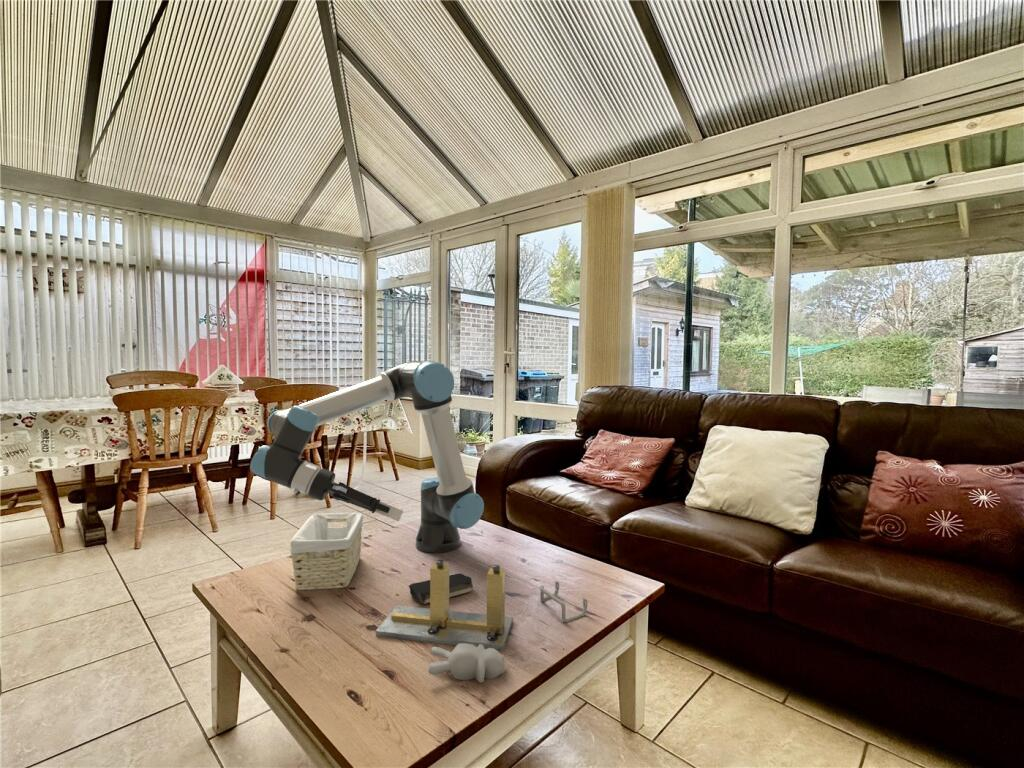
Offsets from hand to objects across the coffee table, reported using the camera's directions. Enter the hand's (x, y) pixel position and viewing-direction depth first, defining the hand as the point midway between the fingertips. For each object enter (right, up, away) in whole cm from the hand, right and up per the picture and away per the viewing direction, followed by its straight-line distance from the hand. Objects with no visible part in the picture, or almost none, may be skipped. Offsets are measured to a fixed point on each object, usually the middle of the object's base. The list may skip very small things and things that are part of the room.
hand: (401, 516), depth 127 cm
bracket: (+42, -24, 0) cm, 48 cm away
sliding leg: (+11, -22, -11) cm, 28 cm away
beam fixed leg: (+13, -23, -12) cm, 29 cm away
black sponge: (+10, -24, +7) cm, 26 cm away
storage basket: (-25, -22, +19) cm, 39 cm away
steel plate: (+13, -24, -11) cm, 29 cm away
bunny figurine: (+20, -25, -27) cm, 42 cm away
